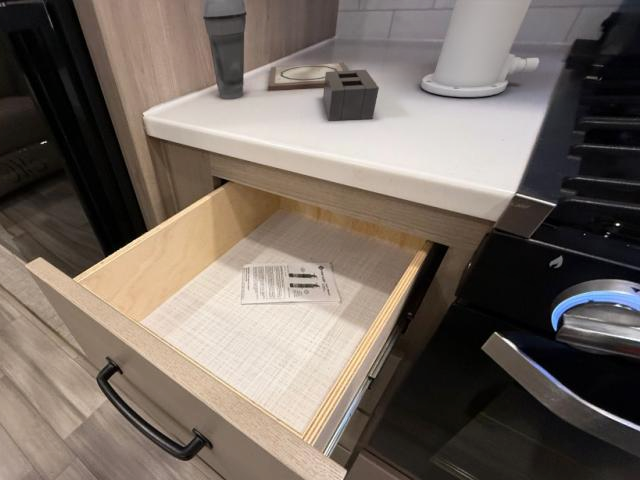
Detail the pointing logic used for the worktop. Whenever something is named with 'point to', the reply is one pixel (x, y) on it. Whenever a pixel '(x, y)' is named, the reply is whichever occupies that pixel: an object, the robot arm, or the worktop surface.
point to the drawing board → (301, 76)
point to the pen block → (349, 95)
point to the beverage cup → (227, 44)
